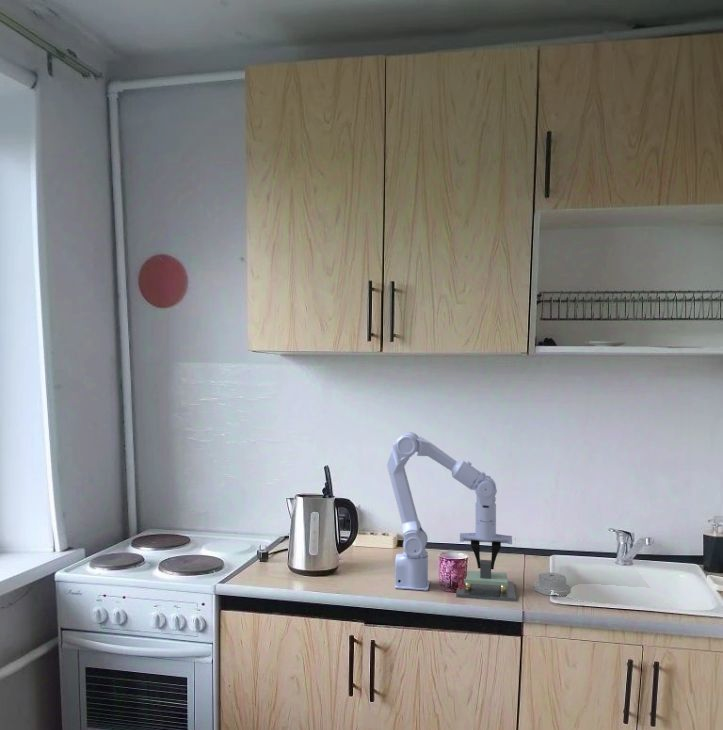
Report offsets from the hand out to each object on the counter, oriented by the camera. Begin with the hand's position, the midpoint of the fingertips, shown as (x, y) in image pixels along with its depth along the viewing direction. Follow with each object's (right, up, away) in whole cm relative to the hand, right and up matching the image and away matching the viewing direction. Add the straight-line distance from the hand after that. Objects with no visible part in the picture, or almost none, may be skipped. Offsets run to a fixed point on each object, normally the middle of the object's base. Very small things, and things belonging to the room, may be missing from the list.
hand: (485, 567), depth 175 cm
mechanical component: (+19, -7, +1) cm, 20 cm away
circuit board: (0, -4, +1) cm, 4 cm away
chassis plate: (0, -6, 0) cm, 6 cm away
